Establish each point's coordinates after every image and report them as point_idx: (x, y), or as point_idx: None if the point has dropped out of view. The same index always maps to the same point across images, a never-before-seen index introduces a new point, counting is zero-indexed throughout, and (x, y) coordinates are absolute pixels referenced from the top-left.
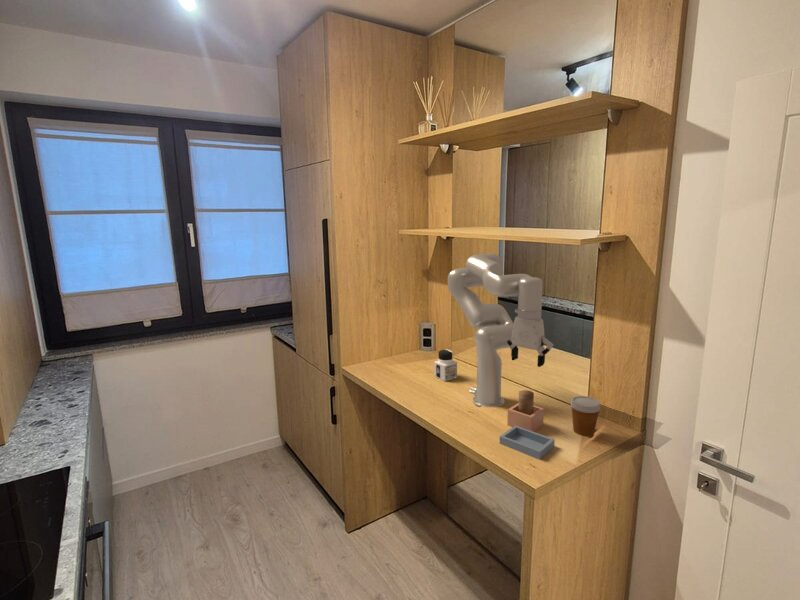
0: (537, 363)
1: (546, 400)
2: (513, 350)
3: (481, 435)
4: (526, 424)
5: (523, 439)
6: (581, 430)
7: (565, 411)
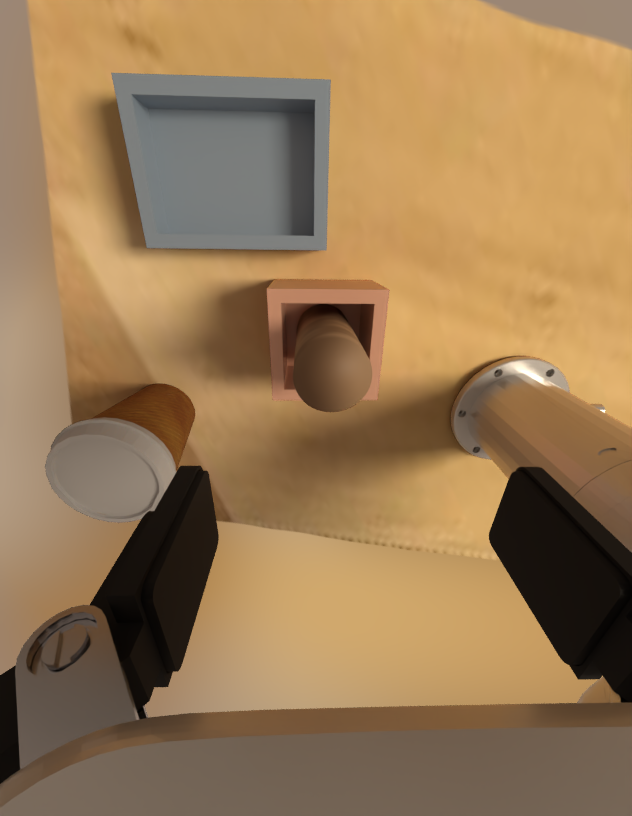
0: (195, 490)
1: (352, 519)
2: (627, 579)
3: (431, 137)
4: (291, 284)
5: (270, 214)
6: (142, 391)
7: (278, 495)
